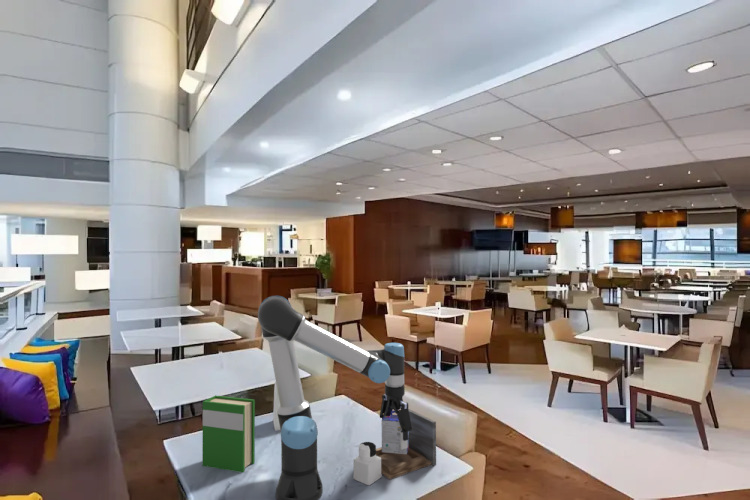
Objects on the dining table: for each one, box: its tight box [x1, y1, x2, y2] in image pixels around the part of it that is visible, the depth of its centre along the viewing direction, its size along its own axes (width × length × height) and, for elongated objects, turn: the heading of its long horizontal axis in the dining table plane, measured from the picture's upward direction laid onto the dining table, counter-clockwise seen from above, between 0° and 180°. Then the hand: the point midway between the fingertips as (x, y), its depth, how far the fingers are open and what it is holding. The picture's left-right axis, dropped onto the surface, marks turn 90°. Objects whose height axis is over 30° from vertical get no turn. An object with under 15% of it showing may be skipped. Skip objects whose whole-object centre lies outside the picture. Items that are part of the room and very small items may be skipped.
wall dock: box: [376, 408, 437, 480], centre depth 163 cm, size 21×20×16 cm
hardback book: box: [201, 395, 256, 473], centre depth 161 cm, size 18×7×24 cm, turn 73°
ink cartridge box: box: [381, 410, 409, 454], centre depth 162 cm, size 10×6×14 cm, turn 78°
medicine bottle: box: [353, 441, 382, 486], centre depth 150 cm, size 7×7×12 cm
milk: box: [272, 381, 281, 431], centre depth 200 cm, size 12×12×26 cm
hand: (395, 443), depth 162 cm, fingers closed on ink cartridge box, 10 cm apart
